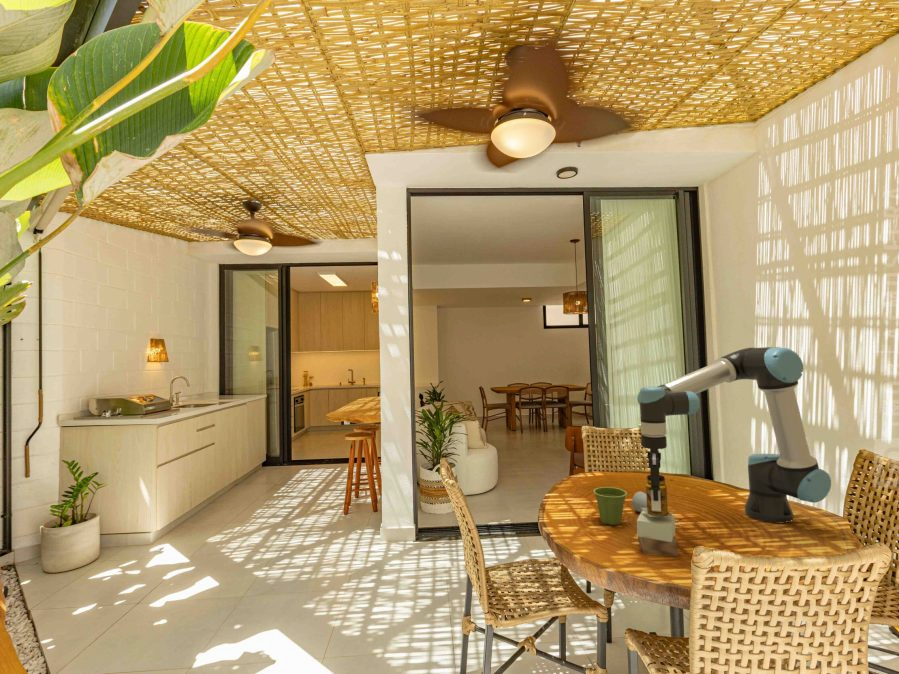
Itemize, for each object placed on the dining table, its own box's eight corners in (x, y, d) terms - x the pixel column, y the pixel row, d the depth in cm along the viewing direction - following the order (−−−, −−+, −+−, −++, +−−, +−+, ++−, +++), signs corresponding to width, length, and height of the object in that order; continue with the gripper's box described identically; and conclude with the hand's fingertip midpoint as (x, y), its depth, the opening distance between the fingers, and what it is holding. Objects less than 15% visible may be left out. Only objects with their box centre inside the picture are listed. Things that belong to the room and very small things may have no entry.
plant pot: (587, 520, 177) (586, 490, 177) (608, 514, 183) (607, 485, 184) (613, 530, 167) (612, 498, 167) (634, 523, 173) (633, 492, 174)
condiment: (650, 517, 148) (649, 479, 148) (640, 508, 157) (638, 472, 157) (674, 517, 148) (672, 478, 148) (662, 507, 157) (661, 471, 157)
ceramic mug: (649, 518, 177) (648, 498, 178) (631, 512, 185) (631, 492, 185) (668, 514, 182) (667, 494, 183) (650, 508, 190) (649, 488, 190)
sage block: (675, 531, 153) (674, 515, 154) (671, 542, 145) (671, 525, 145) (642, 525, 159) (642, 510, 159) (637, 536, 150) (636, 520, 150)
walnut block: (670, 544, 155) (670, 528, 155) (677, 557, 146) (677, 541, 146) (638, 541, 158) (637, 526, 158) (643, 554, 148) (642, 538, 148)
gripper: (642, 429, 162) (644, 497, 162) (639, 439, 145) (642, 515, 144) (665, 430, 159) (668, 499, 159) (666, 441, 142) (669, 518, 141)
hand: (656, 506), depth 152 cm, fingers open, 6 cm apart
